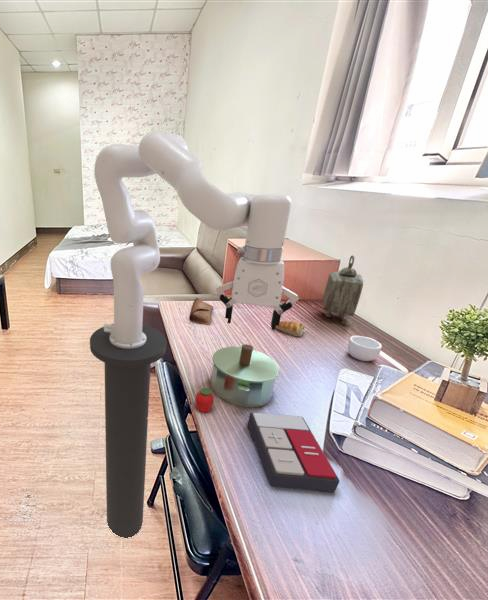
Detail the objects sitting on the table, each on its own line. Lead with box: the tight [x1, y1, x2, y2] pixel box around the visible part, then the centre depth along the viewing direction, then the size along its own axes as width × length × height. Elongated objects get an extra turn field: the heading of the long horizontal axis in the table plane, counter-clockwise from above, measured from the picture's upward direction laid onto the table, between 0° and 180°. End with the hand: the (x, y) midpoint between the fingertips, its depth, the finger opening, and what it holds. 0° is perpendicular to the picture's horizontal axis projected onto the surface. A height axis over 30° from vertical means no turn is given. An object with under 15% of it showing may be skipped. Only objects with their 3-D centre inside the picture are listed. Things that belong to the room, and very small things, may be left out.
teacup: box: [347, 335, 383, 362], centre depth 95 cm, size 10×8×5 cm
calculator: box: [247, 412, 341, 493], centre depth 61 cm, size 11×4×15 cm
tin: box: [210, 364, 277, 408], centre depth 80 cm, size 15×20×8 cm
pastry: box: [275, 320, 306, 337], centre depth 111 cm, size 9×7×4 cm
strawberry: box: [195, 387, 215, 413], centre depth 74 cm, size 4×4×5 cm
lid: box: [212, 343, 280, 383], centre depth 78 cm, size 16×16×6 cm
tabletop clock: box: [322, 255, 364, 326], centre depth 116 cm, size 14×9×25 cm, turn 150°
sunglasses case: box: [188, 297, 214, 325], centre depth 124 cm, size 18×7×7 cm
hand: (250, 324), depth 74 cm, fingers open, 9 cm apart
